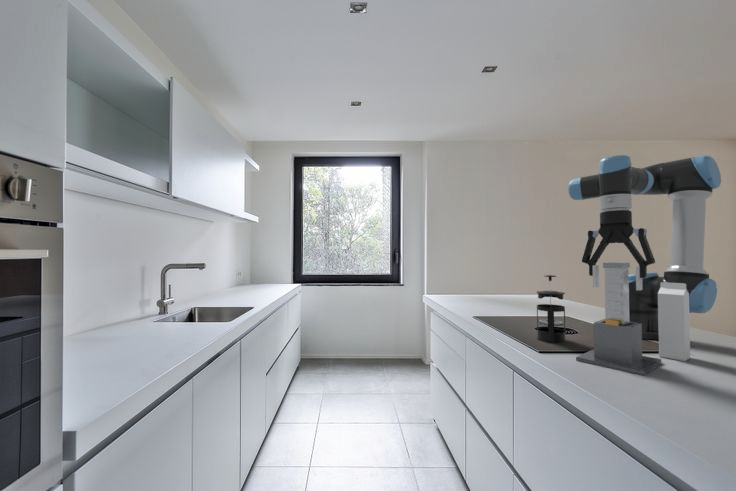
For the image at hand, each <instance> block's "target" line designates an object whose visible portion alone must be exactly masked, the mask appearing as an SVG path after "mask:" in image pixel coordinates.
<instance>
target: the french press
mask: <svg viewBox="0 0 736 491" xmlns="http://www.w3.org/2000/svg"><path fill="white" fill-rule="evenodd" d="M543 277H546V278H548V281H549V290H543V291H541V290H540V291H539V290H538V291H536V294H537V299H539V300H540V299H543V298H549V303H548V304H547V303H546V304H545V303H543V304H542V303H541V304H540V303H539V304H537V305H536V339H537V340H538V341H541V342H546V343H550V344H551V343H554V344H562V343H566V342H567V339H566V306H564V305H562V304H561V305H560V304H552V298H555V299H556V298H557V299H559V300H564V295H565V292H562V291H557V290H552V279H553V278H557V275H552V274H545V275H543ZM538 311H543V312H547V319H546V318H545V319H544V318H543V319H539V315H538V314H539V313H538ZM556 312H557V313H561V312H563V321H562V320H557V319H555V313H556ZM539 324H541V325H546V326H547V327H539ZM555 326H563V329H560V328H555Z"/></svg>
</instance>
